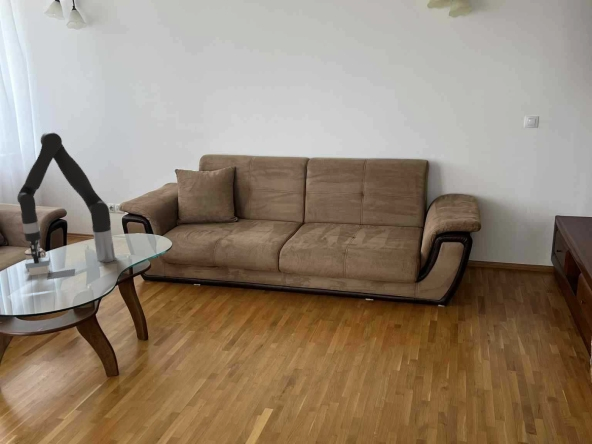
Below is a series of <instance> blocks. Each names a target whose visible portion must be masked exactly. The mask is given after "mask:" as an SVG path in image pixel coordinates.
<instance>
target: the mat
mask: <svg viewBox="0 0 592 444" xmlns="http://www.w3.org/2000/svg"><path fill="white" fill-rule="evenodd" d="M75 274H76V268H71V269H65V270H58V271H52V272H49V273H47V278H46V280H54V279H61V278H68V277H74V276H75Z"/></svg>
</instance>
